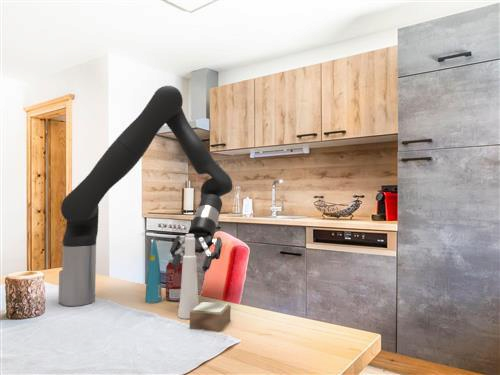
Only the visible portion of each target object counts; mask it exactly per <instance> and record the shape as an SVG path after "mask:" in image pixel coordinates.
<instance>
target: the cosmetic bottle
mask: <svg viewBox="0 0 500 375" xmlns="http://www.w3.org/2000/svg"><path fill="white" fill-rule="evenodd" d="M184 238H185V255H184V256H183V257H182V260H183V264H182V281H181V295H180V301H179V304H178V305H179V306H178V311H177V318H179V319H181V320H182V319H183V320H190V312H191V311H192V310H193V309H194V308H195V307H197V306H198V305H199V304H200V303H199V292H198V288H199V286H198V264H197V263H198V261H197V255H196V253H195V238H194V234H188V233H186V234H185V237H184Z"/></svg>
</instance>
